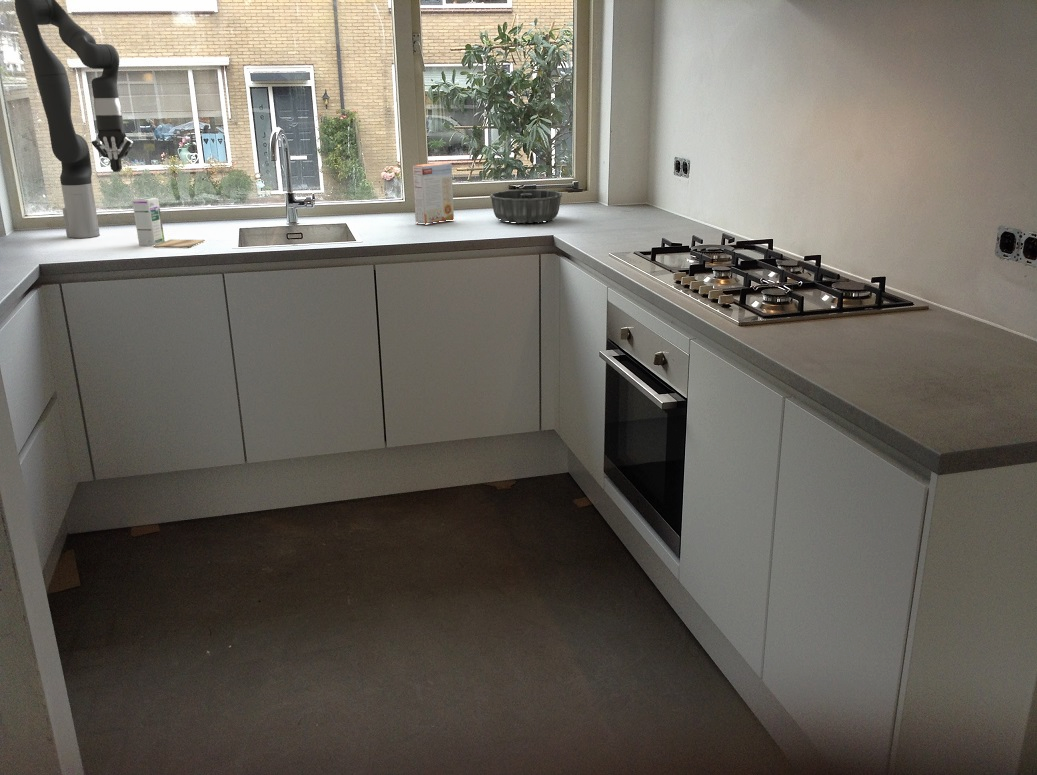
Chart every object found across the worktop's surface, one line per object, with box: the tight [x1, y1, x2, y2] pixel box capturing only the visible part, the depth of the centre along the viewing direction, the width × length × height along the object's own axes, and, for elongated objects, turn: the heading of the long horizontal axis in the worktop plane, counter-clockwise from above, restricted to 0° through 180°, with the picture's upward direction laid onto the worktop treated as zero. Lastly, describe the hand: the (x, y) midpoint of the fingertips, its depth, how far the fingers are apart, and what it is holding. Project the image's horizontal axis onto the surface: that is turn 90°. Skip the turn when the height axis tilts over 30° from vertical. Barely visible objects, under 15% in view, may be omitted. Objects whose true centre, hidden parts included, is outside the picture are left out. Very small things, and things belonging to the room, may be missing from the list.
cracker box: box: [412, 162, 455, 224], centre depth 324 cm, size 14×6×21 cm, turn 136°
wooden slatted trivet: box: [153, 238, 206, 248], centre depth 287 cm, size 12×12×1 cm
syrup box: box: [132, 196, 165, 246], centre depth 286 cm, size 6×6×14 cm
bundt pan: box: [489, 189, 563, 224], centre depth 329 cm, size 26×26×10 cm
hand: (117, 171), depth 281 cm, fingers closed
